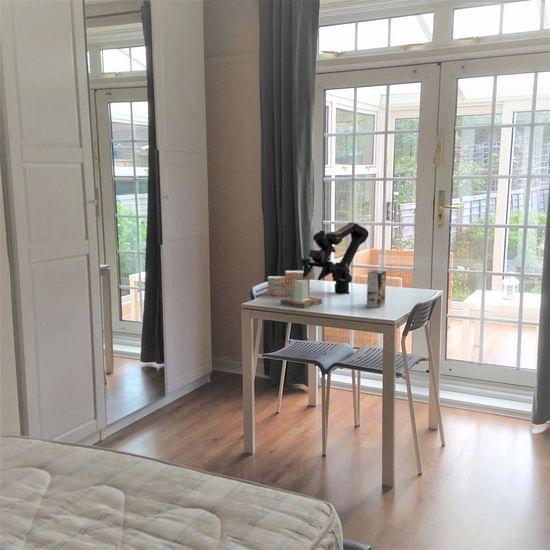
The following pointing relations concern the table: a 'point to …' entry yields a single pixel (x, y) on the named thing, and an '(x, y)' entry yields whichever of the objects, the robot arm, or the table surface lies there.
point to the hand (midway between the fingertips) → (310, 278)
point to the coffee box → (376, 288)
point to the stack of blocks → (285, 283)
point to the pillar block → (301, 290)
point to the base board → (301, 302)
